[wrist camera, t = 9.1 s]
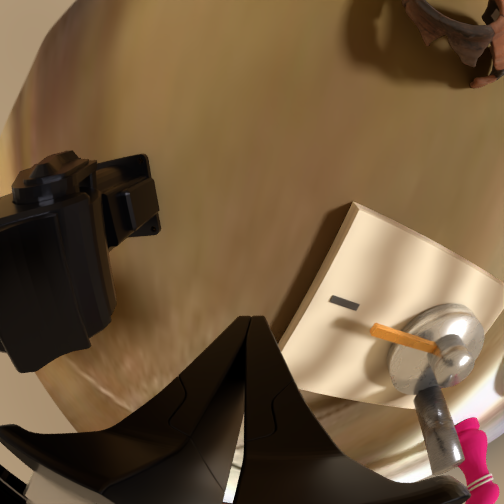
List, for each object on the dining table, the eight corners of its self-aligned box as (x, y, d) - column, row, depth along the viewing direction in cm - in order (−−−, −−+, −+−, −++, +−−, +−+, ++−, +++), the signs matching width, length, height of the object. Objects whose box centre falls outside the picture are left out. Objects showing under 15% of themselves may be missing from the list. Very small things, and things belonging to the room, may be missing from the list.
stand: (265, 364, 28) (263, 380, 26) (352, 201, 20) (359, 210, 18) (412, 397, 29) (415, 409, 27) (504, 282, 21) (514, 293, 19)
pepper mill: (452, 440, 35) (471, 524, 17) (438, 434, 34) (459, 529, 16) (483, 419, 32) (509, 504, 14) (473, 411, 31) (503, 507, 13)
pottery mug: (452, 112, 16) (462, 67, 10) (387, 29, 17) (364, -29, 11) (542, 69, 10) (570, 25, 3) (476, -8, 11) (475, -63, 4)
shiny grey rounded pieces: (355, 403, 27) (366, 493, 17) (364, 307, 21) (399, 427, 11) (455, 380, 25) (484, 456, 15) (488, 284, 19) (553, 367, 9)
